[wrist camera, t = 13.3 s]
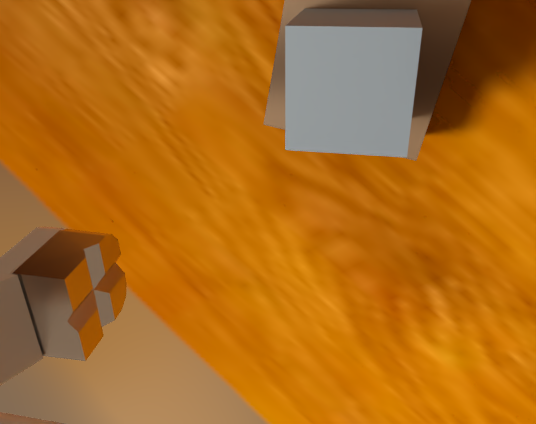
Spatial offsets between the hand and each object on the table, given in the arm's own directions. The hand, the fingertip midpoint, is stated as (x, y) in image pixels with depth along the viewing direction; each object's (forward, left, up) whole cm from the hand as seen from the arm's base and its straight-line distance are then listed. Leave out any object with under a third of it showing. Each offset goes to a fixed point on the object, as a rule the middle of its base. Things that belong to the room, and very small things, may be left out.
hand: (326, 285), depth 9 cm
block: (0, -1, -18) cm, 18 cm away
